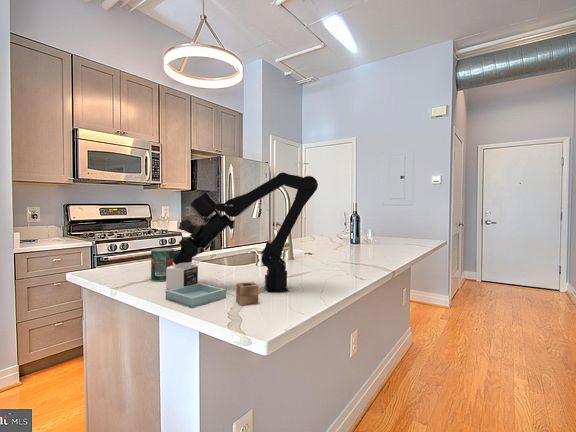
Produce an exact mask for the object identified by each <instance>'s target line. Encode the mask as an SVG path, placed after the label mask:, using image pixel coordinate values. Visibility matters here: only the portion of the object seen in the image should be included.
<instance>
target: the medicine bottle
mask: <svg viewBox="0 0 576 432" xmlns="http://www.w3.org/2000/svg"><path fill="white" fill-rule="evenodd" d="M180 251H181V250H177V251H174V253H173V265H174V266H170V267H167V268H166V281H165V282H166V283H165V286H166V287H165V289H166V290H171V289H175V288H180V287H184V286H189V285H193V284H198V283H199V282H198V281H199V276H198V275H199V266H198V265H197V264H193V258H190V259H188V260H186V261H183V262H181V263H179V264H175V263H174V261H175V259H176V258H177V256H178V254H179V253H180Z"/></svg>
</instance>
